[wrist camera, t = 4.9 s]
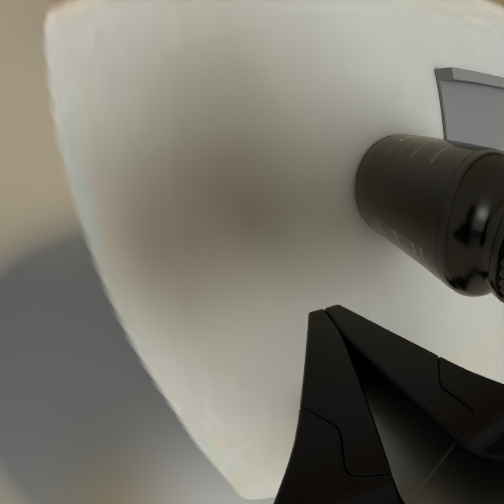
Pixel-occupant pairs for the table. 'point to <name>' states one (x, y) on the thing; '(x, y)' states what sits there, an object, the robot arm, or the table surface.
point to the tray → (472, 107)
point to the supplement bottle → (439, 207)
